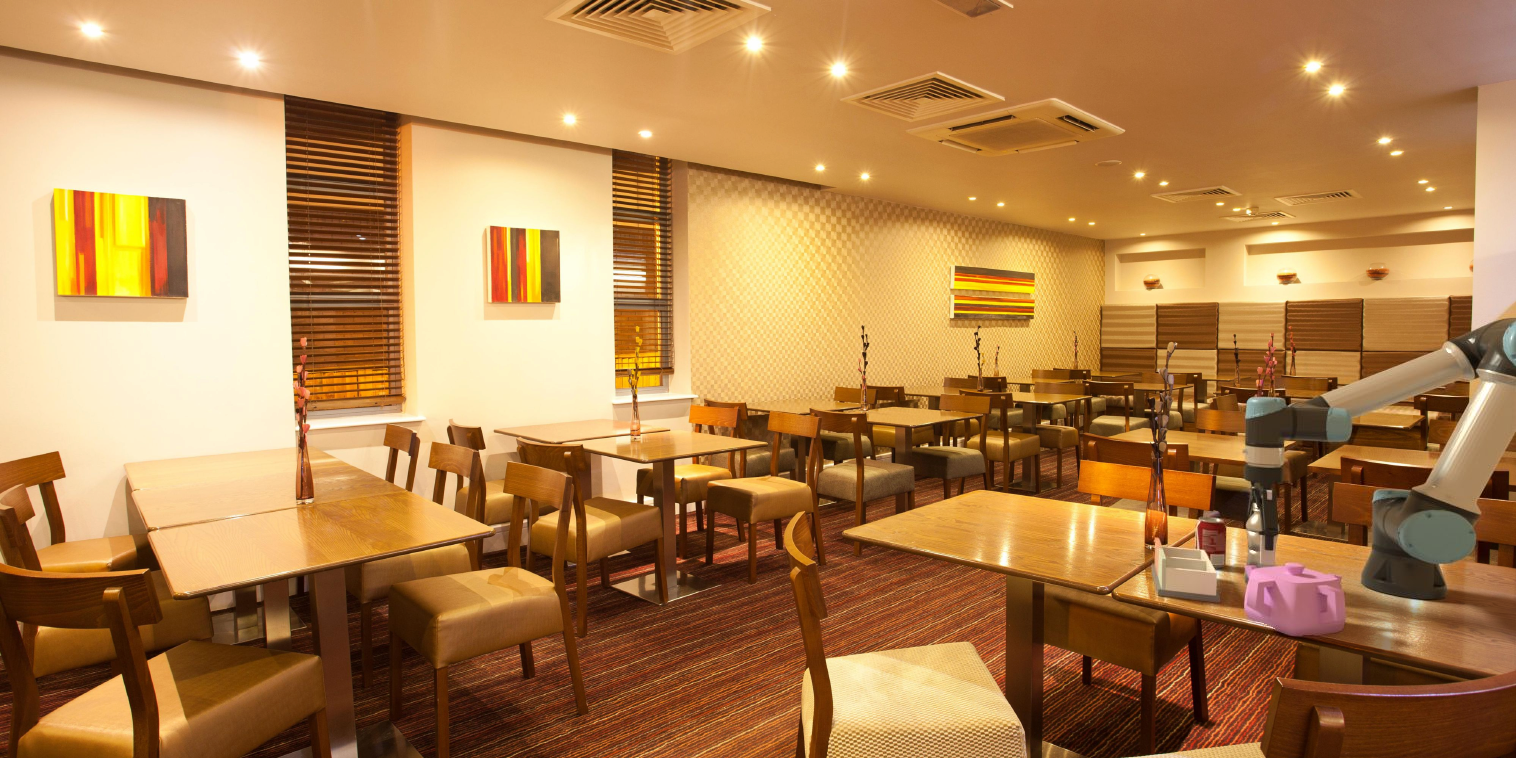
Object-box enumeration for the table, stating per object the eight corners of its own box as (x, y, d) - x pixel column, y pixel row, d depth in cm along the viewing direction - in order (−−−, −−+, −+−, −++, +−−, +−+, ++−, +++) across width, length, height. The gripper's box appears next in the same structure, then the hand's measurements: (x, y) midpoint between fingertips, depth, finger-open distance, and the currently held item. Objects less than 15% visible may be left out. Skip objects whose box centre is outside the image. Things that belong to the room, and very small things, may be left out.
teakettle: (1245, 629, 151) (1247, 568, 150) (1242, 604, 166) (1243, 548, 165) (1353, 647, 142) (1355, 581, 142) (1339, 618, 157) (1341, 559, 156)
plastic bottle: (1236, 586, 178) (1238, 501, 177) (1258, 583, 180) (1260, 499, 179) (1262, 595, 171) (1264, 507, 170) (1284, 592, 173) (1287, 505, 172)
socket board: (1206, 576, 185) (1207, 542, 185) (1219, 602, 166) (1220, 564, 166) (1151, 570, 190) (1152, 537, 190) (1157, 595, 171) (1158, 558, 171)
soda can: (1229, 570, 190) (1231, 522, 190) (1200, 568, 192) (1201, 521, 191) (1219, 562, 197) (1220, 516, 196) (1190, 561, 198) (1191, 515, 198)
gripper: (1235, 456, 187) (1233, 541, 188) (1255, 471, 164) (1252, 568, 165) (1271, 457, 184) (1269, 544, 185) (1296, 474, 161) (1294, 572, 162)
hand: (1261, 556), depth 175 cm, fingers open, 13 cm apart
